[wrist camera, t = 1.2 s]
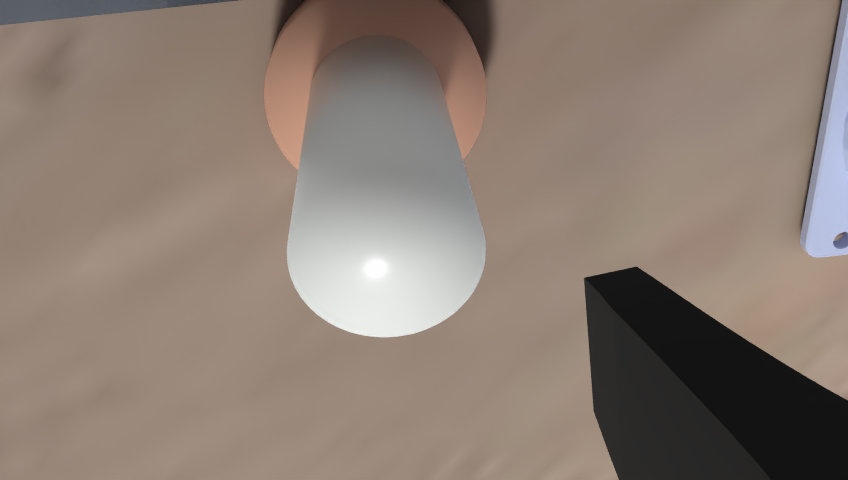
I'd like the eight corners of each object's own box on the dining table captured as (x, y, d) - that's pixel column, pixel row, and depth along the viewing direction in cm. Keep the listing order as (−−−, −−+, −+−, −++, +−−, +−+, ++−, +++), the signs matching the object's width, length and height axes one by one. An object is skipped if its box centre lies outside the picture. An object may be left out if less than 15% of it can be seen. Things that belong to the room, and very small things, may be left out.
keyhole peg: (474, -36, 18) (550, 80, 11) (484, 167, 20) (551, 367, 13) (250, -13, 18) (182, 120, 11) (288, 189, 20) (254, 401, 13)
